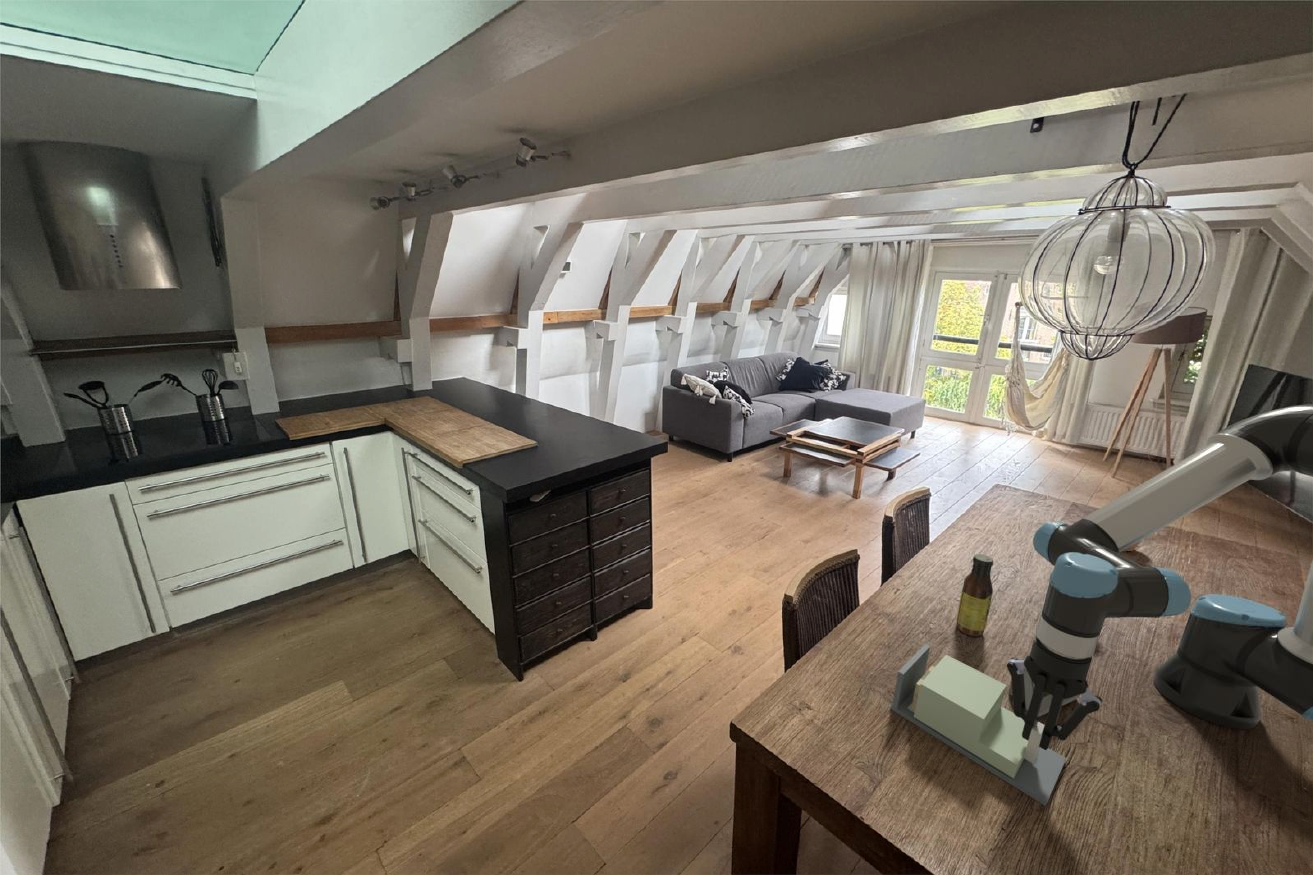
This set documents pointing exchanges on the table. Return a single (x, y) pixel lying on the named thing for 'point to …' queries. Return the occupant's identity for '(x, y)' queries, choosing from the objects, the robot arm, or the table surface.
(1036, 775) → the housing base
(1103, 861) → the table surface
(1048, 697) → the digital clock
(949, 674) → the sage cover
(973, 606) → the sauce bottle
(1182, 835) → the table surface
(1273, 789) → the table surface
